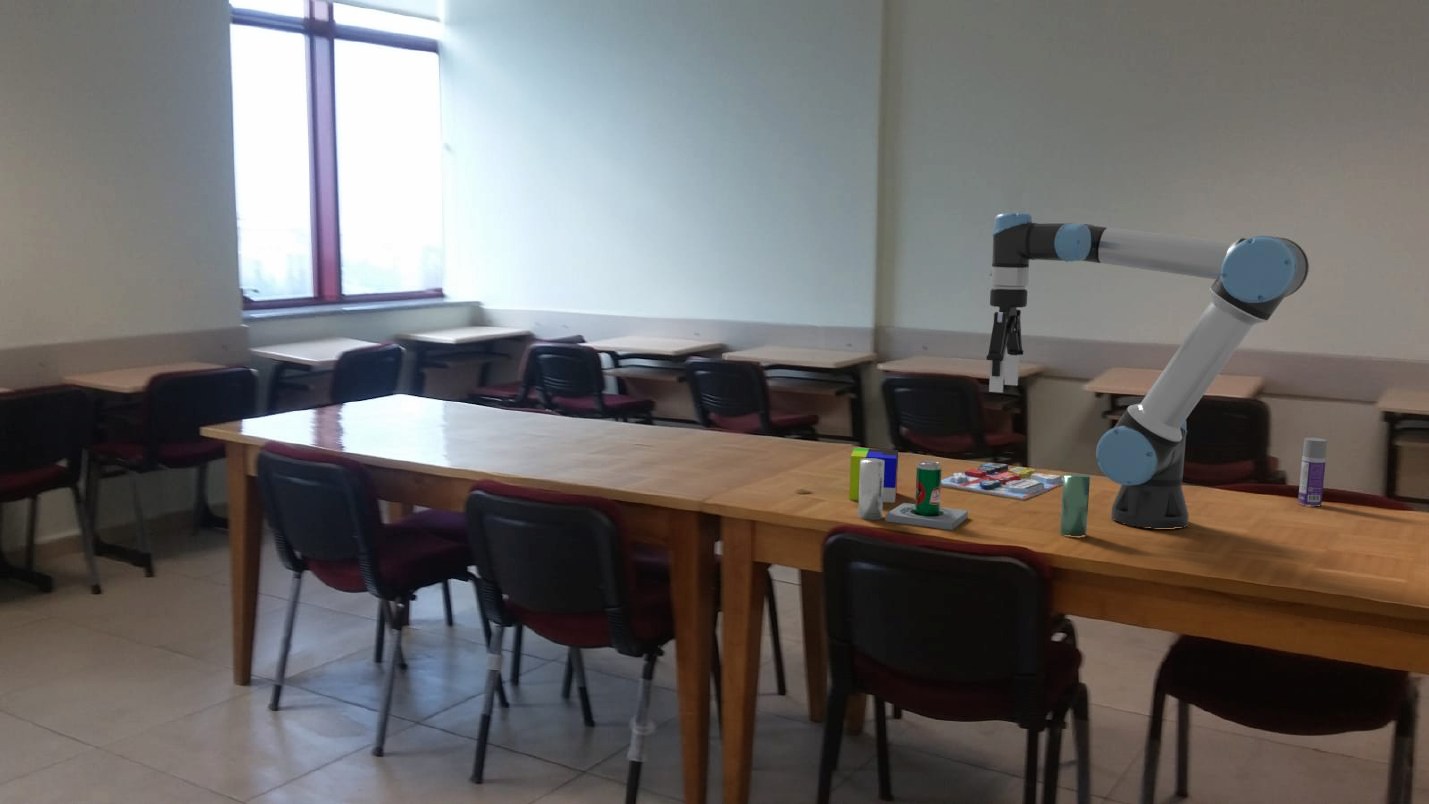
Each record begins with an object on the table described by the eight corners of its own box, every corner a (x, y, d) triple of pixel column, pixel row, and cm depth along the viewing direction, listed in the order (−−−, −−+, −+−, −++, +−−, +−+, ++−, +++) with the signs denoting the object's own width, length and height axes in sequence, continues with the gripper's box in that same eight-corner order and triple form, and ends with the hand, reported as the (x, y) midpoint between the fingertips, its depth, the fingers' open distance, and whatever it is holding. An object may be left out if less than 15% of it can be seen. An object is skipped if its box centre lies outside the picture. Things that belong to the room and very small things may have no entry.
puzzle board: (1023, 503, 257) (1024, 492, 257) (931, 488, 271) (932, 477, 271) (1074, 482, 281) (1075, 471, 280) (987, 469, 295) (988, 459, 294)
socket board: (967, 517, 240) (968, 510, 240) (951, 530, 229) (952, 522, 229) (903, 509, 246) (903, 502, 246) (885, 521, 236) (885, 514, 235)
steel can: (885, 515, 240) (887, 459, 239) (877, 520, 236) (879, 463, 234) (862, 512, 243) (865, 457, 241) (854, 517, 238) (856, 461, 236)
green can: (1088, 533, 228) (1092, 475, 227) (1083, 539, 224) (1087, 479, 222) (1062, 530, 231) (1066, 472, 229) (1057, 536, 226) (1061, 476, 225)
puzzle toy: (894, 502, 253) (896, 458, 251) (849, 500, 255) (850, 455, 253) (896, 493, 263) (898, 450, 261) (852, 490, 265) (854, 448, 263)
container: (1323, 504, 258) (1330, 439, 256) (1317, 508, 255) (1324, 442, 252) (1301, 501, 261) (1307, 436, 259) (1295, 504, 258) (1301, 439, 256)
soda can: (934, 523, 234) (936, 466, 233) (910, 520, 237) (913, 463, 235) (942, 518, 239) (945, 462, 237) (920, 515, 241) (922, 459, 240)
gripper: (1005, 285, 252) (999, 380, 255) (976, 289, 230) (970, 393, 233) (1039, 286, 249) (1034, 383, 252) (1013, 290, 227) (1007, 396, 230)
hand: (1003, 388), depth 242 cm, fingers open, 13 cm apart
